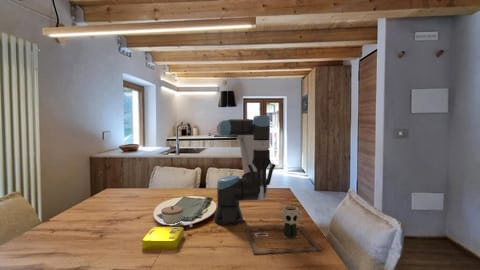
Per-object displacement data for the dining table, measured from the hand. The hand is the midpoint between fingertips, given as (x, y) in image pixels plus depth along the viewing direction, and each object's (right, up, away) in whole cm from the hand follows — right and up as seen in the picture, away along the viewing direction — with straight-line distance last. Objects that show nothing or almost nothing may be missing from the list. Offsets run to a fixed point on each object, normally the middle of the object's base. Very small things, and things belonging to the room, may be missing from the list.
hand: (261, 199), depth 129 cm
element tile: (-43, -18, -6) cm, 47 cm away
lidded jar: (-45, -16, +15) cm, 50 cm away
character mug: (+13, -17, -1) cm, 21 cm away
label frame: (+8, -17, -4) cm, 19 cm away
